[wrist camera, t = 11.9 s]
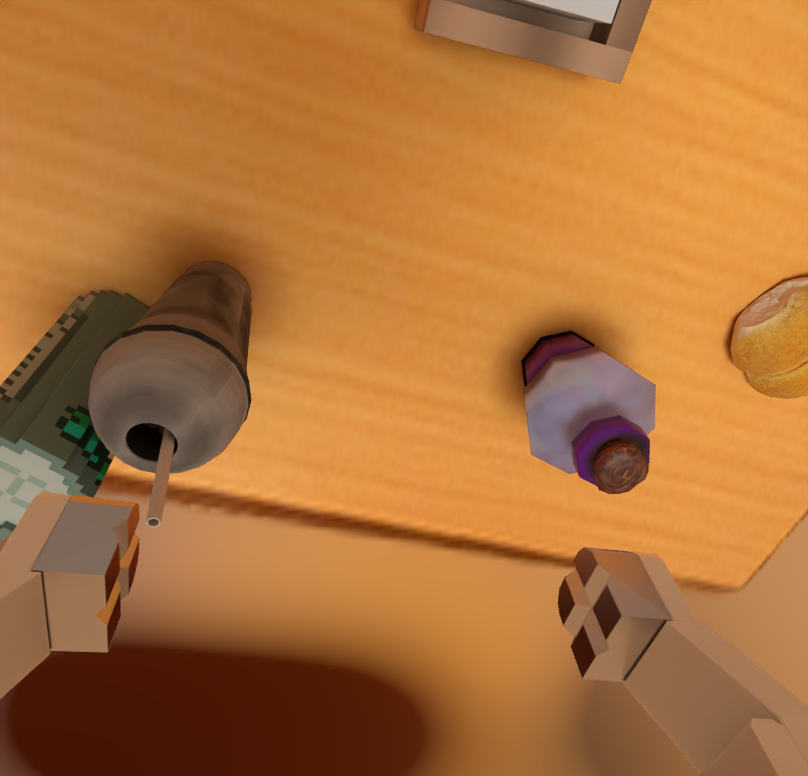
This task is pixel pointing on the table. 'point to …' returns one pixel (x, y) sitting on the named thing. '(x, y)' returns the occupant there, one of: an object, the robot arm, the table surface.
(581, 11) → the lid
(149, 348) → the beverage cup
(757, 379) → the bread roll
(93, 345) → the can
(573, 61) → the box
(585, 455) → the potion bottle
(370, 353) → the table surface
